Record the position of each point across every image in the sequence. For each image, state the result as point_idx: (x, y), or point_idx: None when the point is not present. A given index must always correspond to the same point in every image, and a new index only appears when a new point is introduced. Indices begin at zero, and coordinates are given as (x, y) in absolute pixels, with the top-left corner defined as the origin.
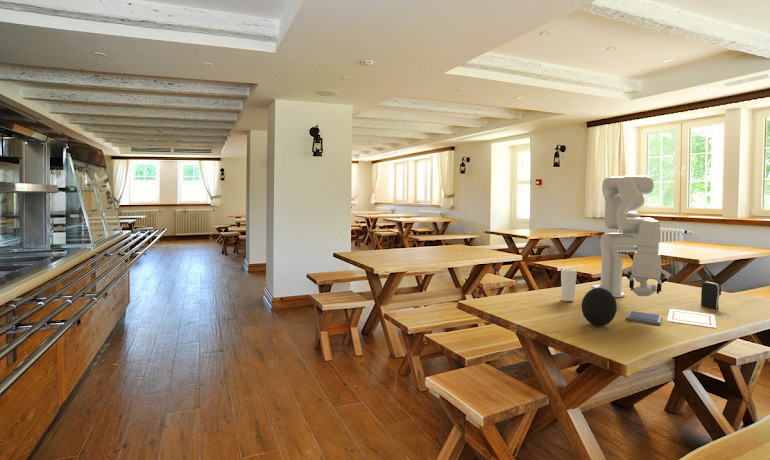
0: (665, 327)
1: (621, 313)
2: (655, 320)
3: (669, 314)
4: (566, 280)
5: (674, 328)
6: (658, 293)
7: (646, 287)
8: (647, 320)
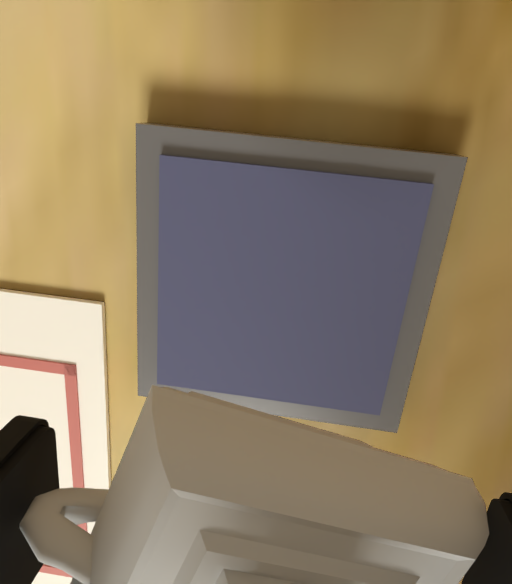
0: (99, 74)
1: (460, 396)
2: (177, 155)
3: (102, 488)
4: None
5: (27, 82)
6: (19, 417)
7: (213, 524)
8: (251, 143)
